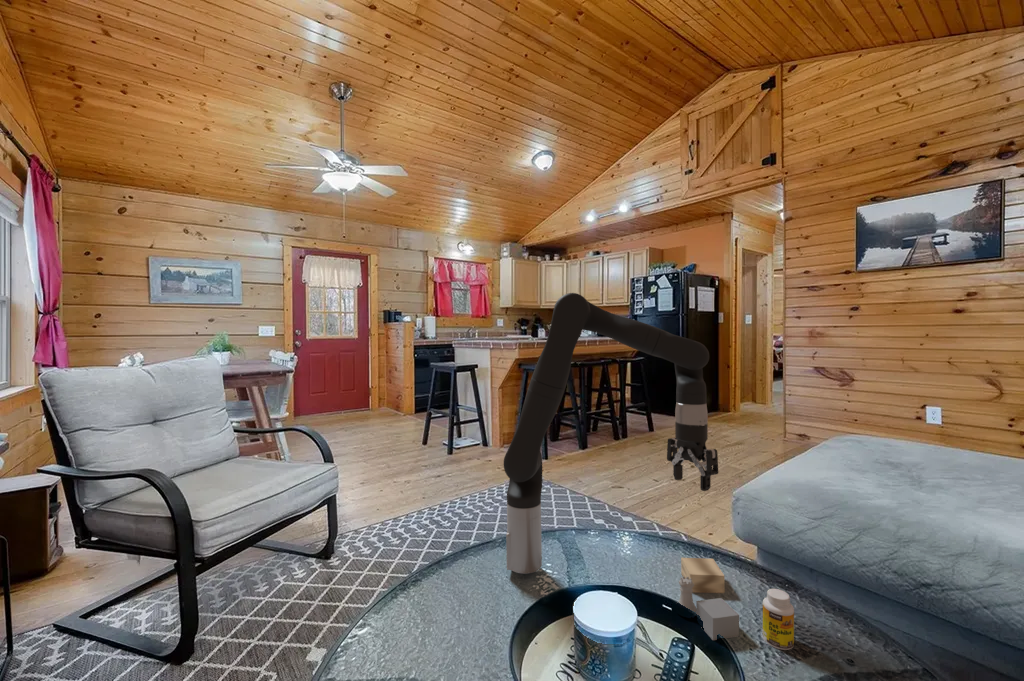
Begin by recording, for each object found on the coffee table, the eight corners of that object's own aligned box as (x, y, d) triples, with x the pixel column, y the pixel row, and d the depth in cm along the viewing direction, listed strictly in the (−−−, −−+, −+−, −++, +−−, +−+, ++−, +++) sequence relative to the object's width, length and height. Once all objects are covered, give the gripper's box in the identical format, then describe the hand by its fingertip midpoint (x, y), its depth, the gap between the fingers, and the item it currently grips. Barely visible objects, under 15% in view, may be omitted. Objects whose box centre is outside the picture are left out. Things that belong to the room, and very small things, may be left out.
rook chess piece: (681, 605, 105) (681, 571, 104) (700, 613, 101) (700, 579, 101) (672, 614, 101) (672, 579, 101) (692, 623, 98) (691, 587, 98)
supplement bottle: (764, 648, 90) (764, 598, 90) (760, 631, 95) (760, 583, 95) (797, 655, 88) (797, 604, 88) (791, 637, 93) (791, 589, 93)
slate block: (712, 642, 92) (712, 618, 92) (696, 623, 98) (696, 601, 98) (739, 638, 93) (739, 615, 93) (721, 620, 99) (721, 598, 99)
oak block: (690, 594, 109) (690, 574, 109) (681, 576, 117) (681, 557, 117) (724, 596, 108) (724, 575, 108) (713, 577, 116) (713, 558, 116)
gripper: (659, 417, 117) (659, 478, 117) (703, 427, 104) (703, 496, 104) (680, 414, 120) (681, 474, 120) (726, 424, 107) (726, 491, 107)
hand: (691, 484), depth 112 cm, fingers open, 8 cm apart
